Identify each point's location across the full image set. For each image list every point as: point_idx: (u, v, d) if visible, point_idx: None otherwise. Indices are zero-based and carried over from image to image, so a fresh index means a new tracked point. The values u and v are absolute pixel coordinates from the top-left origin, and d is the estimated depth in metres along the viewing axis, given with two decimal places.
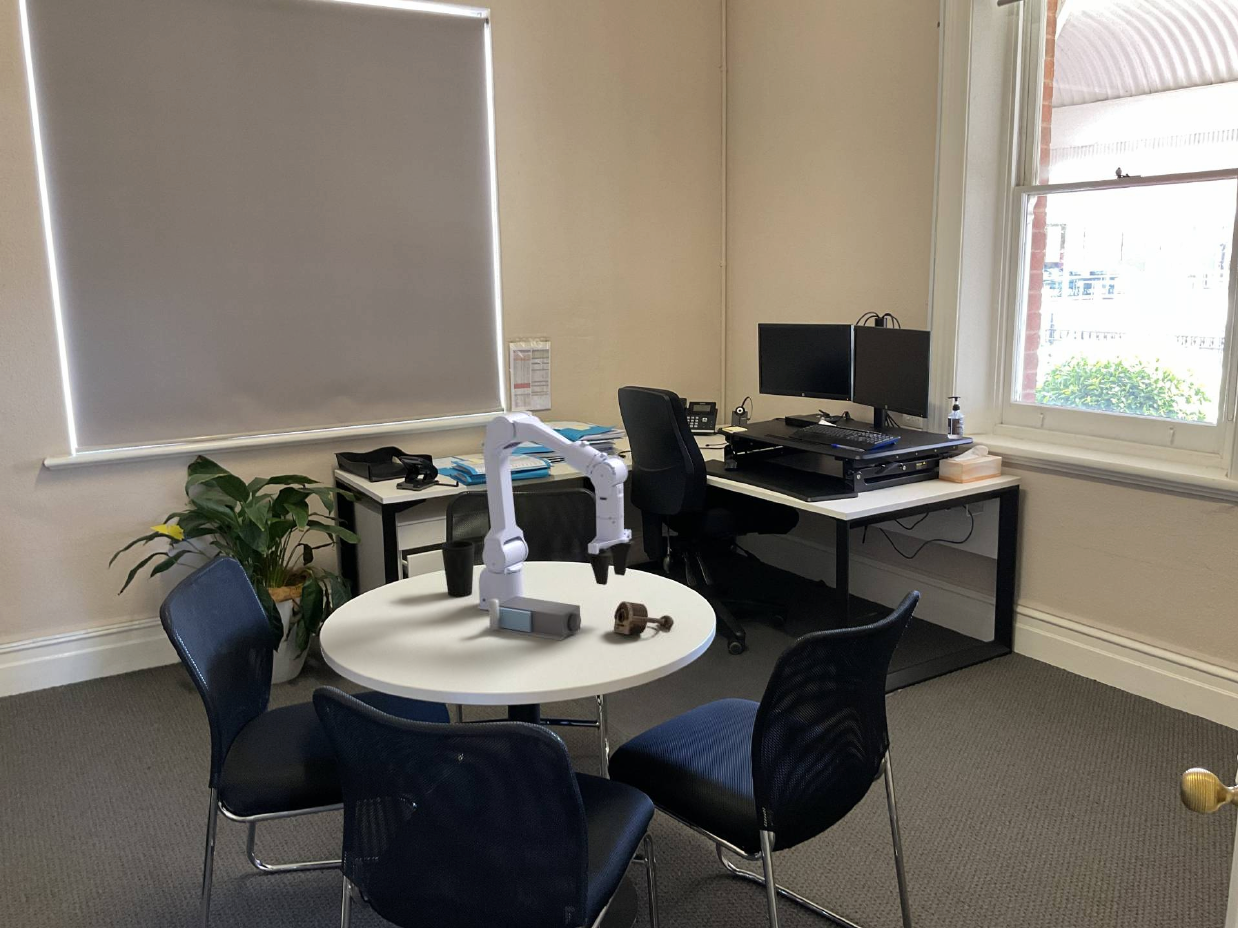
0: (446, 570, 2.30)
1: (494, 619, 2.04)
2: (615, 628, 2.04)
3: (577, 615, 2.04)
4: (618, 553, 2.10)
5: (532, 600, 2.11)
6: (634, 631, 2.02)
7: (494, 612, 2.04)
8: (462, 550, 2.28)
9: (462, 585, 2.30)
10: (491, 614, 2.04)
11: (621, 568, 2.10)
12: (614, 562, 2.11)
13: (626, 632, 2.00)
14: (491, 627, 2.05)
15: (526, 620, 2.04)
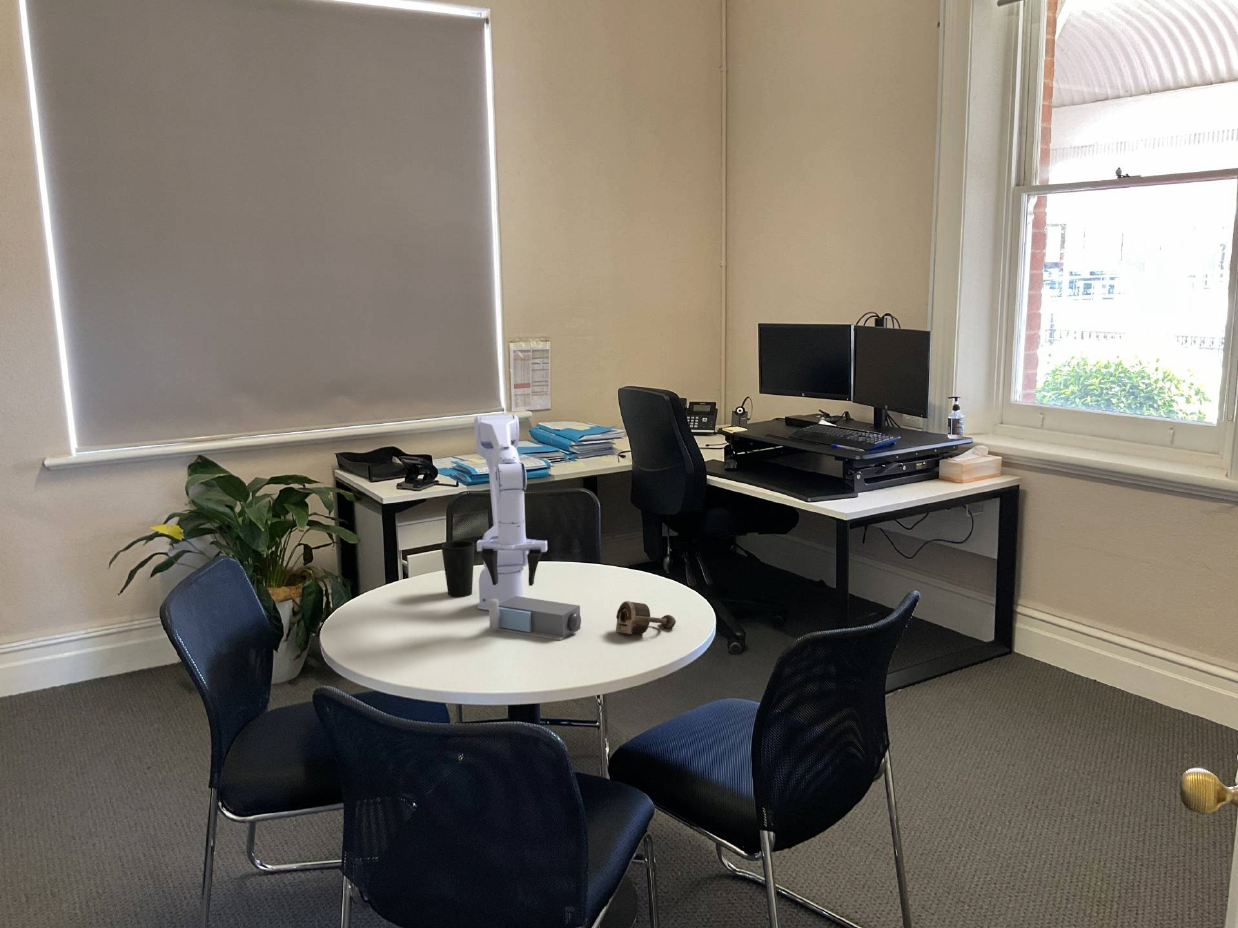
0: (446, 570, 2.30)
1: (494, 619, 2.04)
2: (618, 627, 2.04)
3: (577, 615, 2.04)
4: None
5: (532, 600, 2.11)
6: (637, 631, 2.02)
7: (494, 612, 2.04)
8: (462, 550, 2.28)
9: (462, 585, 2.30)
10: (491, 614, 2.04)
11: (529, 578, 2.06)
12: None
13: (629, 632, 2.00)
14: (491, 627, 2.05)
15: (526, 620, 2.04)
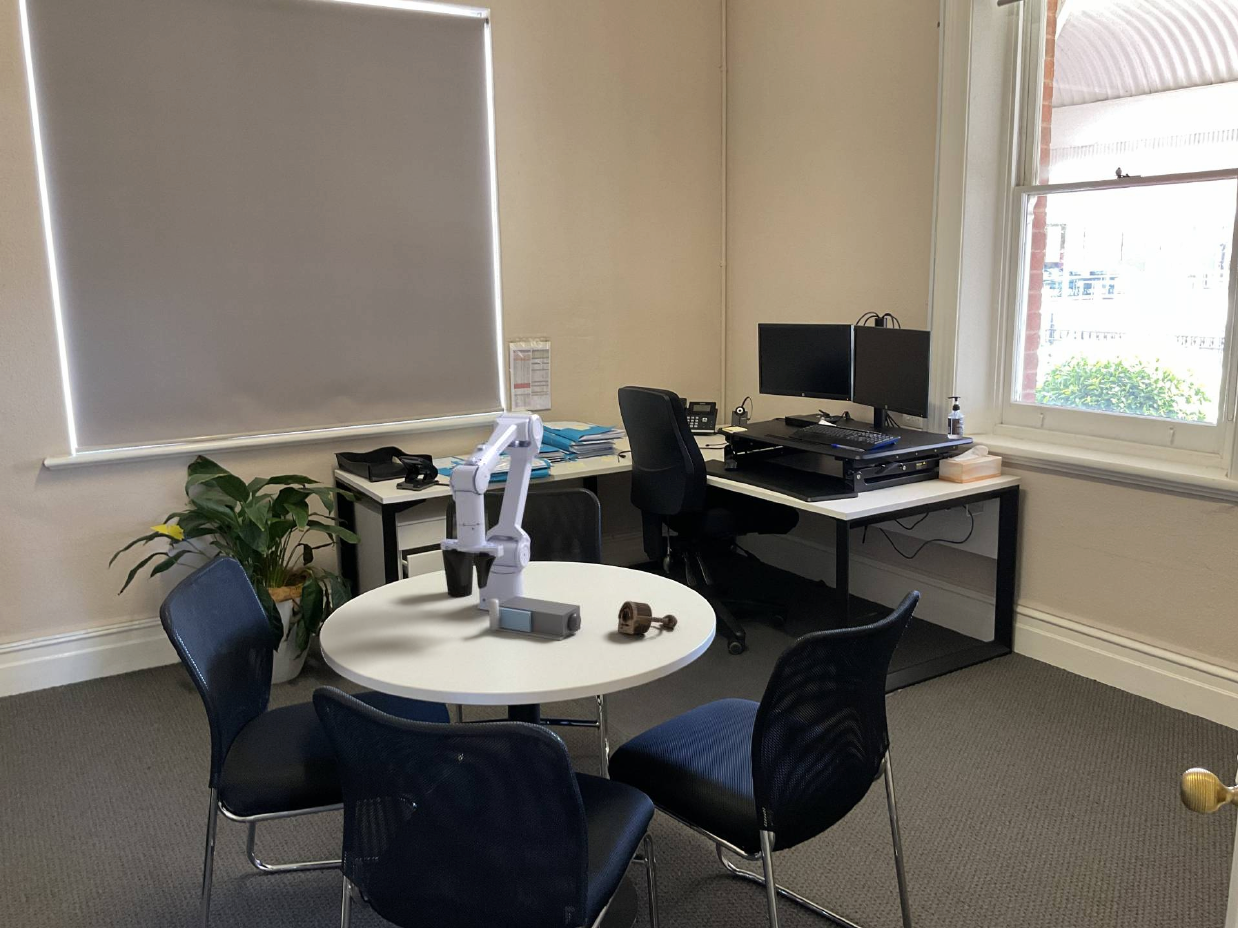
0: (446, 570, 2.30)
1: (494, 619, 2.04)
2: (619, 627, 2.04)
3: (577, 615, 2.04)
4: None
5: (532, 600, 2.11)
6: (639, 630, 2.02)
7: (494, 612, 2.04)
8: None
9: None
10: (491, 614, 2.04)
11: None
12: None
13: (631, 632, 2.00)
14: (491, 627, 2.05)
15: (526, 620, 2.04)
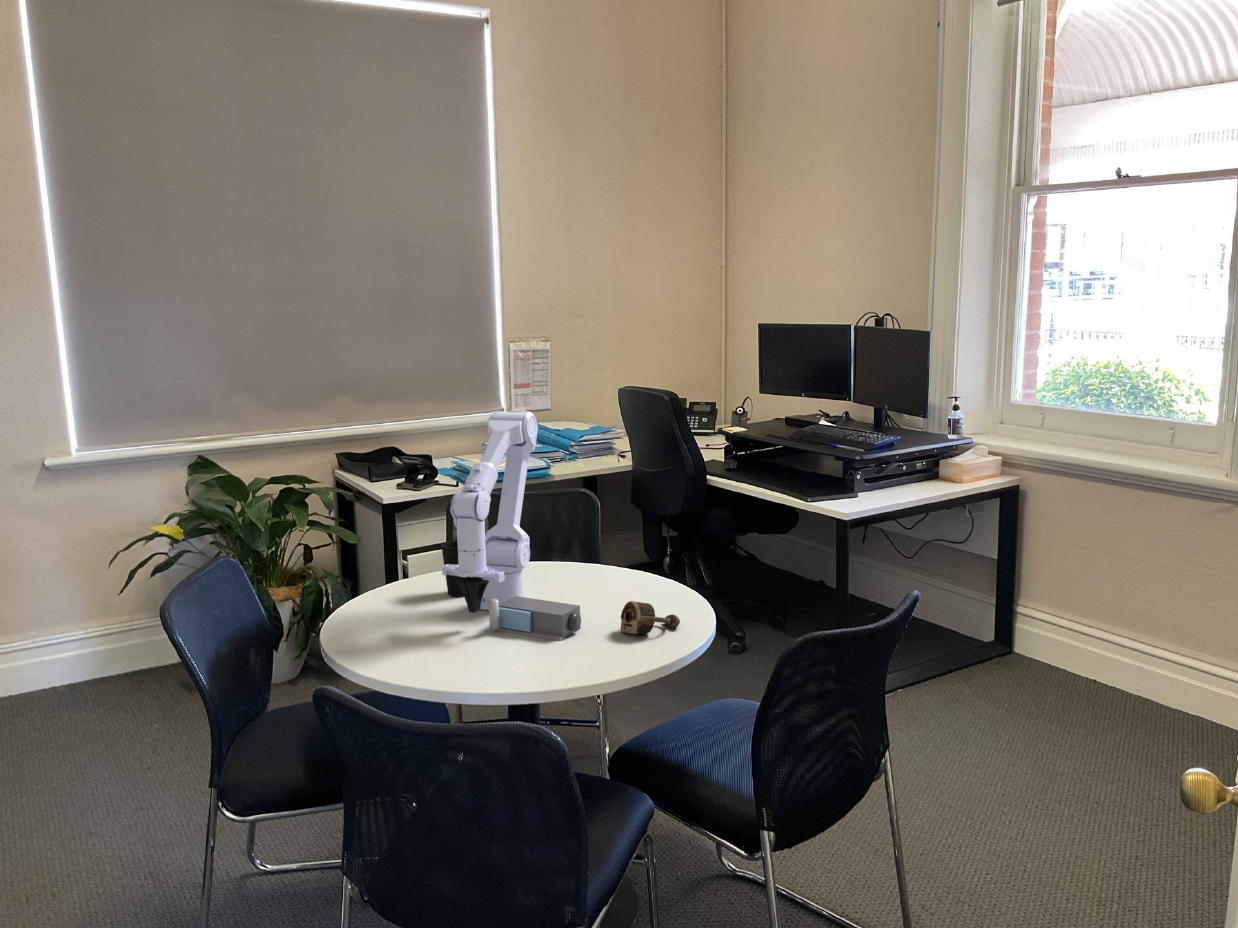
0: None
1: (494, 619, 2.04)
2: (622, 627, 2.04)
3: (577, 615, 2.04)
4: None
5: (532, 600, 2.11)
6: (642, 630, 2.02)
7: (494, 612, 2.04)
8: None
9: None
10: (491, 614, 2.04)
11: None
12: None
13: (634, 632, 2.00)
14: (491, 627, 2.05)
15: (526, 620, 2.04)
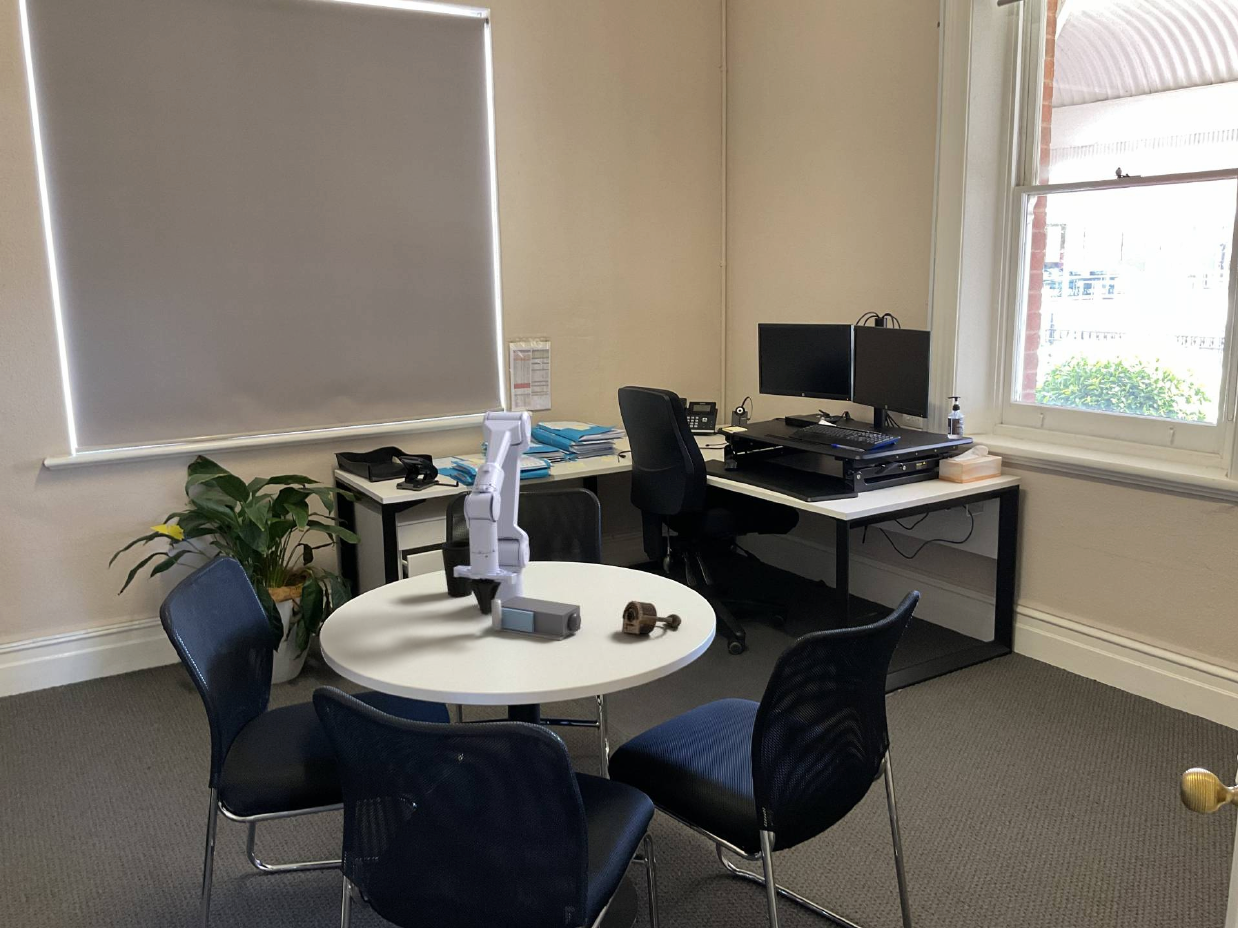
0: (446, 570, 2.30)
1: (496, 619, 2.04)
2: (624, 627, 2.04)
3: (577, 615, 2.04)
4: None
5: (532, 600, 2.11)
6: (644, 630, 2.02)
7: (497, 612, 2.04)
8: (462, 550, 2.28)
9: (462, 585, 2.30)
10: (493, 614, 2.04)
11: None
12: None
13: (636, 631, 2.00)
14: (493, 627, 2.05)
15: (529, 620, 2.03)
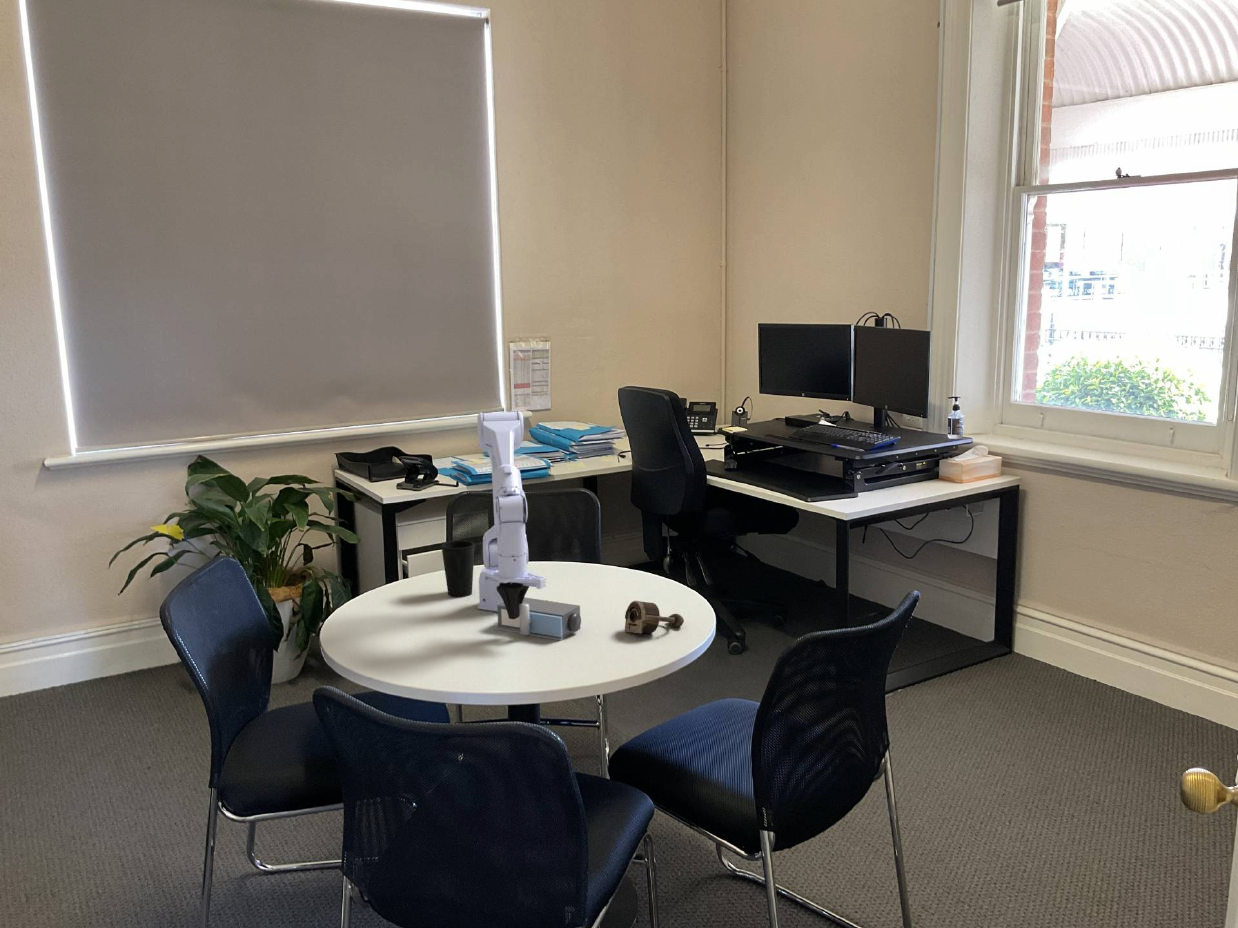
0: (446, 570, 2.30)
1: (525, 624, 2.01)
2: (627, 627, 2.04)
3: (577, 615, 2.04)
4: None
5: (532, 600, 2.11)
6: (647, 630, 2.02)
7: (525, 616, 2.01)
8: (462, 550, 2.28)
9: (462, 585, 2.30)
10: (521, 619, 2.01)
11: None
12: None
13: (639, 631, 2.00)
14: (522, 632, 2.01)
15: (557, 625, 2.00)
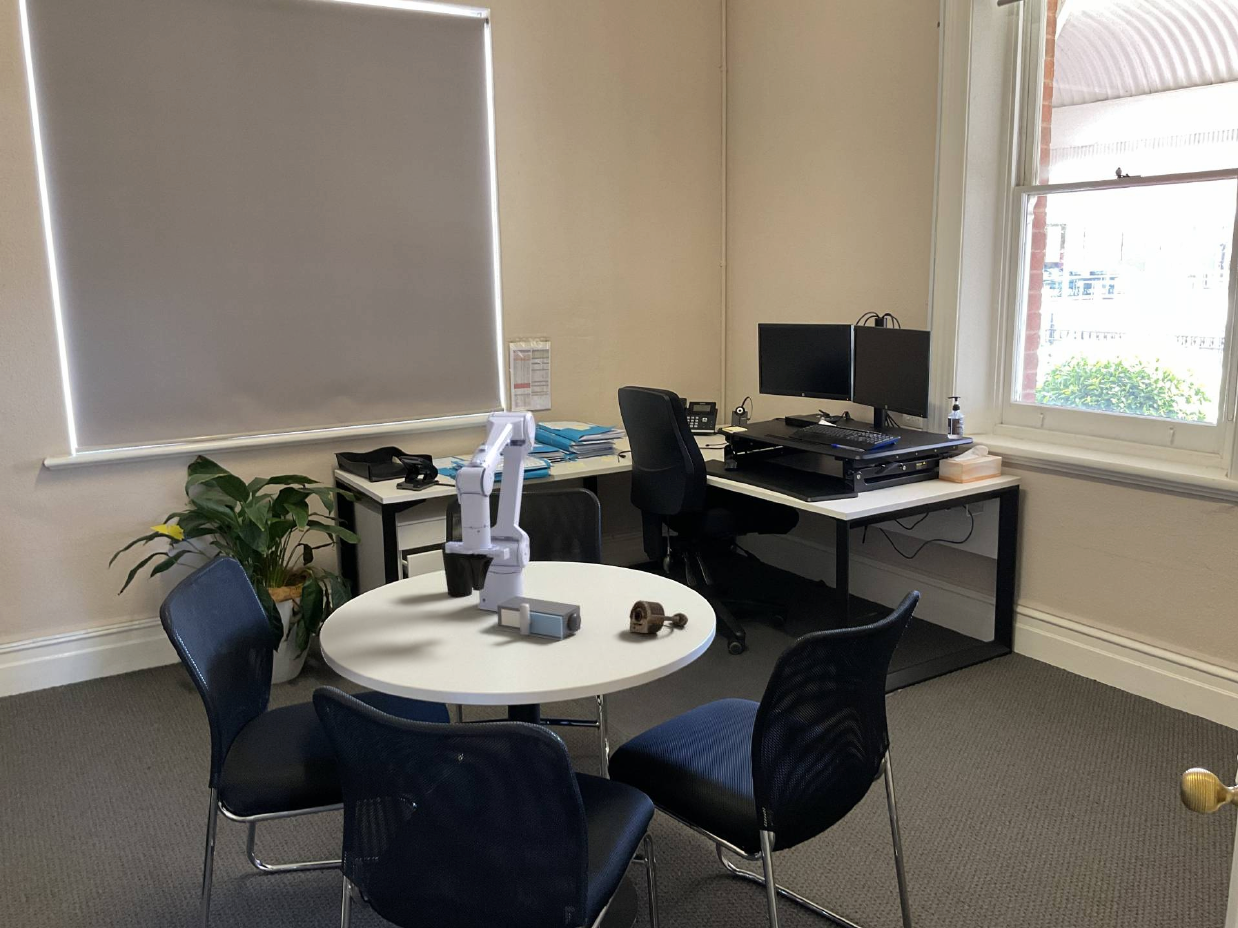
0: (446, 570, 2.30)
1: (525, 624, 2.01)
2: (631, 627, 2.04)
3: (577, 615, 2.04)
4: None
5: (532, 600, 2.11)
6: (652, 629, 2.02)
7: (525, 616, 2.01)
8: None
9: (462, 585, 2.30)
10: (521, 619, 2.01)
11: None
12: None
13: (645, 631, 2.00)
14: (522, 632, 2.01)
15: (557, 625, 2.00)
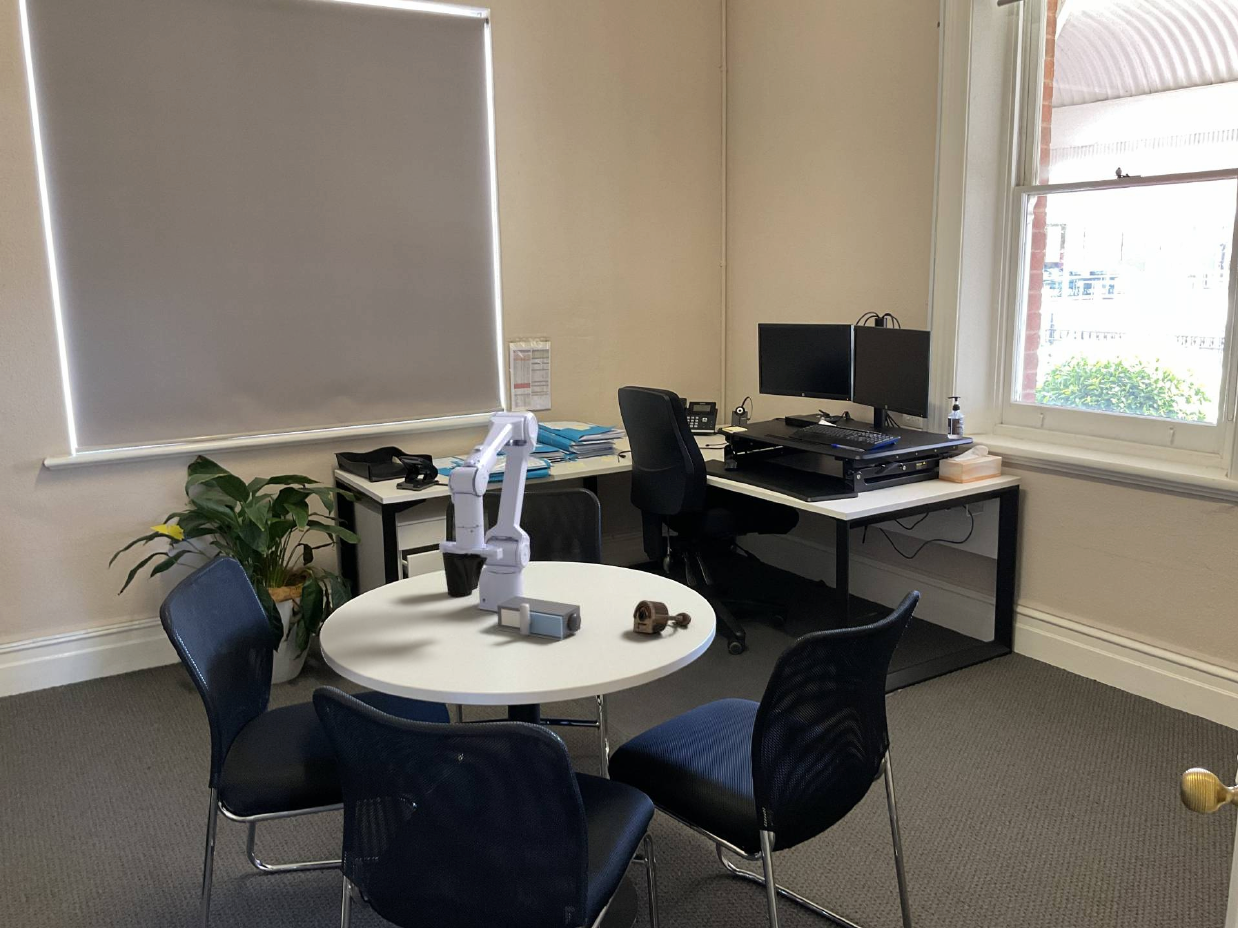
0: (446, 570, 2.30)
1: (525, 624, 2.01)
2: (635, 627, 2.04)
3: (577, 615, 2.04)
4: None
5: (532, 600, 2.11)
6: (656, 629, 2.02)
7: (525, 616, 2.01)
8: None
9: (462, 585, 2.30)
10: (521, 619, 2.01)
11: None
12: None
13: (649, 631, 2.00)
14: (522, 632, 2.01)
15: (557, 625, 2.00)
